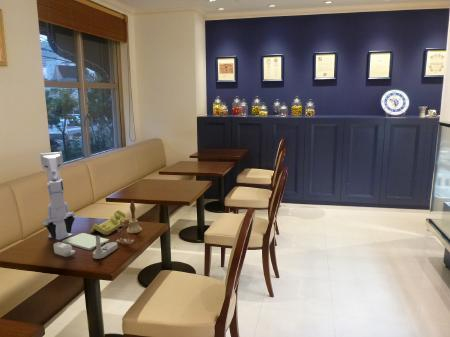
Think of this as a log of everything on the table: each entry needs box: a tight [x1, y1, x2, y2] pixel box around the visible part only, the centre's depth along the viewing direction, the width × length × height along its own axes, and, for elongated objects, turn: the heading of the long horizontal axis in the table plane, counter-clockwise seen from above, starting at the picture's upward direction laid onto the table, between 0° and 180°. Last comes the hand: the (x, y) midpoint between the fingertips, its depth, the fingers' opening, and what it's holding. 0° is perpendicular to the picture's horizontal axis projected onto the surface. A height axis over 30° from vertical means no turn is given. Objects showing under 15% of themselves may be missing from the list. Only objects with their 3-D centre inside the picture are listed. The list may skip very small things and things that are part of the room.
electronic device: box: [92, 235, 119, 260], centre depth 171 cm, size 5×10×15 cm
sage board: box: [61, 232, 110, 251], centre depth 185 cm, size 20×12×1 cm, turn 58°
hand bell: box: [127, 200, 143, 234], centre depth 198 cm, size 8×8×16 cm
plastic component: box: [90, 209, 128, 236], centre depth 203 cm, size 20×7×10 cm
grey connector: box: [53, 241, 76, 258], centre depth 172 cm, size 13×4×4 cm, turn 58°
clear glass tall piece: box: [115, 219, 136, 246], centre depth 182 cm, size 9×4×12 cm, turn 69°
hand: (61, 235), depth 171 cm, fingers open, 7 cm apart
